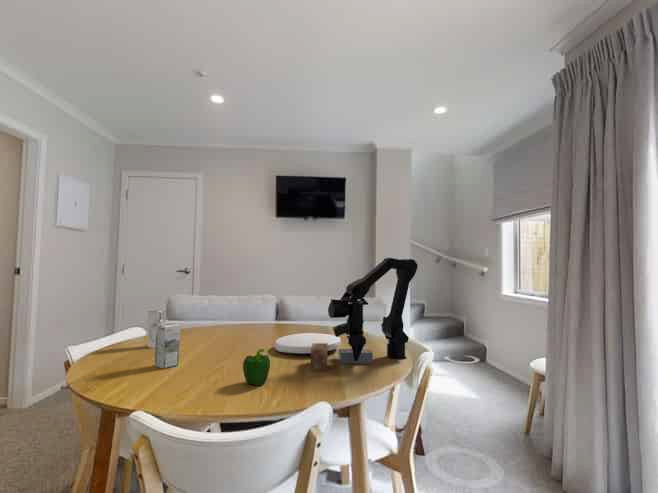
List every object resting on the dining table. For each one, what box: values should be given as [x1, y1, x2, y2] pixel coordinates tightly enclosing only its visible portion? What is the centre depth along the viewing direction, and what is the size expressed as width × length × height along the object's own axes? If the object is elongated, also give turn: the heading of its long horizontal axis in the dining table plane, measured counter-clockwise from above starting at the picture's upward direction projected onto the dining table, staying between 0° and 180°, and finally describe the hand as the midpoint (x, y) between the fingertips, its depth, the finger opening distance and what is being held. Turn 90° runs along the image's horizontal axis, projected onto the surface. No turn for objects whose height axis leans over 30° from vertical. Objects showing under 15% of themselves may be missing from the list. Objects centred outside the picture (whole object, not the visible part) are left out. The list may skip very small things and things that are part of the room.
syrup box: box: [154, 322, 181, 370], centre depth 123 cm, size 6×6×14 cm
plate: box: [274, 332, 342, 354], centre depth 149 cm, size 28×6×27 cm
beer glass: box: [146, 309, 166, 349], centre depth 151 cm, size 7×7×15 cm
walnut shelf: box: [310, 343, 328, 372], centre depth 125 cm, size 6×11×7 cm, turn 0°
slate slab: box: [338, 348, 373, 365], centre depth 132 cm, size 12×6×4 cm, turn 95°
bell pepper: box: [242, 348, 271, 386], centre depth 107 cm, size 8×8×10 cm
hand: (355, 358), depth 132 cm, fingers closed on slate slab, 6 cm apart
